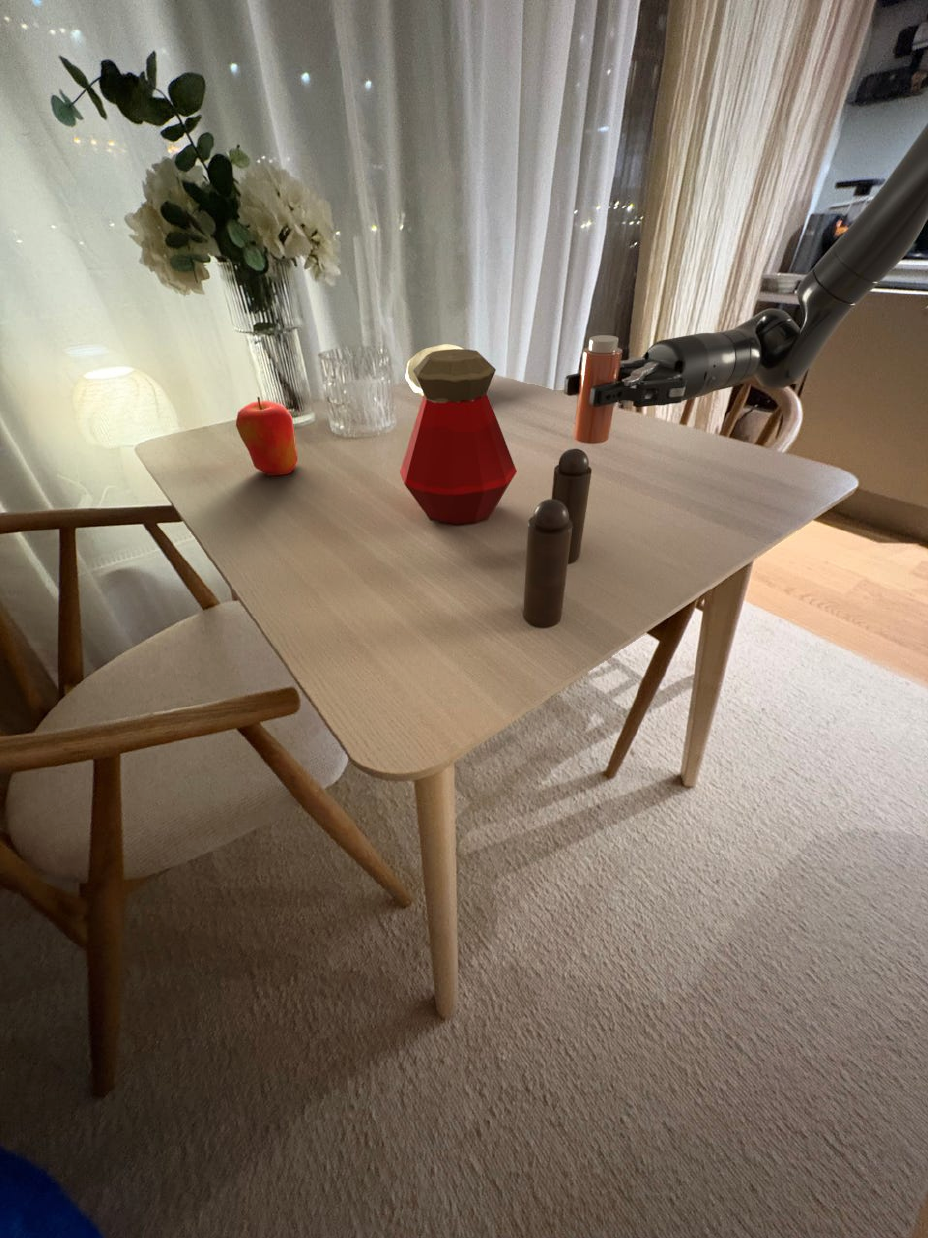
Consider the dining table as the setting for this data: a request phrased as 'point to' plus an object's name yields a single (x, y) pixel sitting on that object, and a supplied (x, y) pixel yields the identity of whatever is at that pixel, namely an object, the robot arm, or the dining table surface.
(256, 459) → the apple
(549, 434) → the dining table surface
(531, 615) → the post
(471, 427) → the bottle
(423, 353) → the bowl
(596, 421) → the shaker
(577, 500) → the post
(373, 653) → the dining table surface
